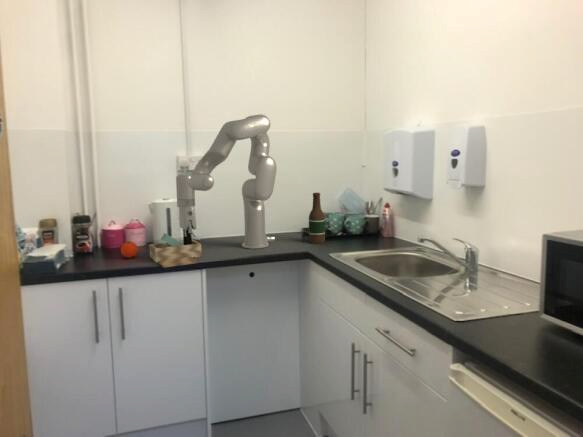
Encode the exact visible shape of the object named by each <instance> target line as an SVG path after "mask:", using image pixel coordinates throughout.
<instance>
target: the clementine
mask: <svg viewBox="0 0 583 437" xmlns="http://www.w3.org/2000/svg"><path fill="white" fill-rule="evenodd" d="M138 250H139V248H138V245H137V244H136V243H135V242H134V241H126V242H124V243H123V244H122V245H121V247H120V252H121V255H123V257H125V258H128V259H133V257H135V256H136V255H137V253H138V252H139V251H138Z"/></svg>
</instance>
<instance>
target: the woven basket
mask: <svg viewBox="0 0 583 437" xmlns="http://www.w3.org/2000/svg"><path fill="white" fill-rule="evenodd" d="M179 242H180V243H182V244H183V246H174V247H173V246H171V245H170V244H168V243H166V242H159V243H158V242H157V243H151V244H149V245H148V246H149V258H150V259H152V260H153V261H154V262H155V263H158V261H162V260H170V259H178V258H185V257H195V258H201V256H202V257H203V254H202V243H200V242H199V241H197V240H195V239H192V244H191V245H184V241H183V240H179Z"/></svg>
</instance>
